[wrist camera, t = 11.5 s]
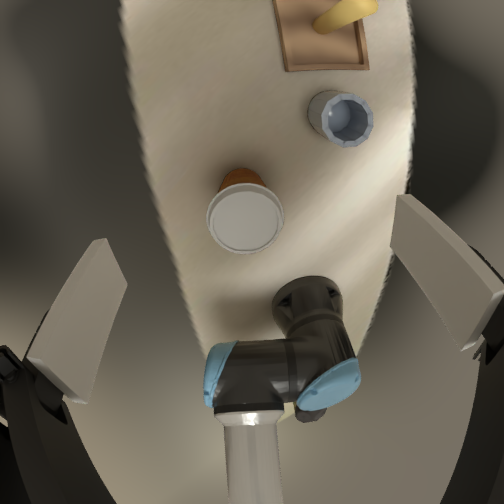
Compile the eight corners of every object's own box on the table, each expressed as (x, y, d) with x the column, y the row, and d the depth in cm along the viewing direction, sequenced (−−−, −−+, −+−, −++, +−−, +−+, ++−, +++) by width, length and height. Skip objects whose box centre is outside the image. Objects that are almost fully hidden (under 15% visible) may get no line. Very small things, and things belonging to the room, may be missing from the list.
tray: (362, 70, 32) (369, 70, 30) (285, 71, 32) (288, 71, 30) (349, -9, 24) (355, -13, 22) (270, -11, 24) (272, -16, 22)
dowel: (332, 34, 28) (380, 16, 16) (313, 34, 28) (353, 12, 16) (329, 18, 26) (375, -8, 14) (310, 18, 27) (348, -12, 14)
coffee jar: (312, 365, 74) (325, 421, 59) (285, 369, 74) (295, 426, 59) (316, 347, 69) (331, 408, 54) (286, 351, 69) (297, 414, 54)
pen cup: (353, 134, 38) (373, 145, 32) (310, 137, 38) (324, 149, 33) (350, 90, 34) (371, 93, 28) (305, 92, 34) (319, 94, 28)
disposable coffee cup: (262, 150, 39) (273, 176, 29) (279, 203, 44) (293, 244, 35) (202, 170, 40) (192, 203, 31) (224, 221, 46) (222, 266, 36)
